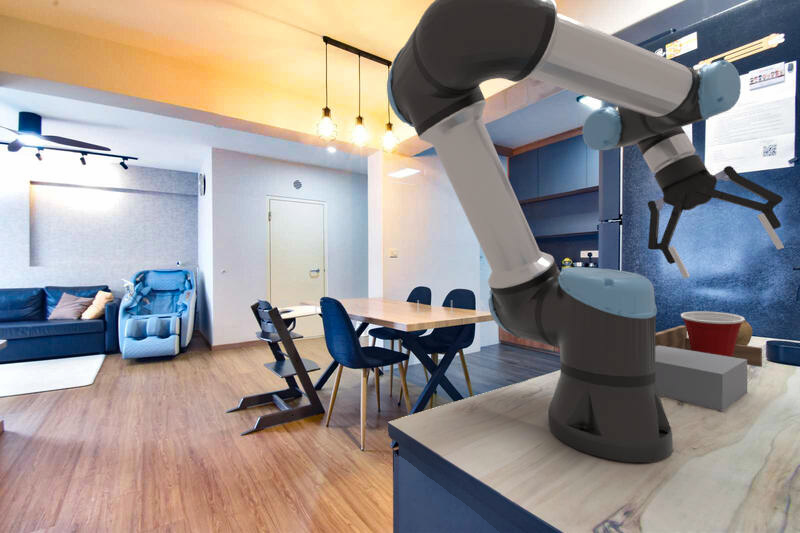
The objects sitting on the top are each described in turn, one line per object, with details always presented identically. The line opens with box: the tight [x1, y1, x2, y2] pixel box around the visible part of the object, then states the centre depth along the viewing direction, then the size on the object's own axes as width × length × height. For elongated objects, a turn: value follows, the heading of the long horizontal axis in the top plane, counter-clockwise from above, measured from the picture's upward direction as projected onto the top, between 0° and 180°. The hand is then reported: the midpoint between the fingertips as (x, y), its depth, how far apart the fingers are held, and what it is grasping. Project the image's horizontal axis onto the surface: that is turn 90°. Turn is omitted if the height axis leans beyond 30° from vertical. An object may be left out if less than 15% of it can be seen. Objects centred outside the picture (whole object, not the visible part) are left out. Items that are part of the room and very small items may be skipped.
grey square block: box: [655, 345, 748, 412], centre depth 68 cm, size 14×14×6 cm
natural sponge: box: [736, 319, 753, 346], centre depth 92 cm, size 9×9×10 cm
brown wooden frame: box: [656, 325, 763, 367], centre depth 81 cm, size 22×15×7 cm
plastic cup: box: [680, 310, 746, 357], centre depth 80 cm, size 11×11×12 cm
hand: (730, 264), depth 66 cm, fingers open, 13 cm apart
